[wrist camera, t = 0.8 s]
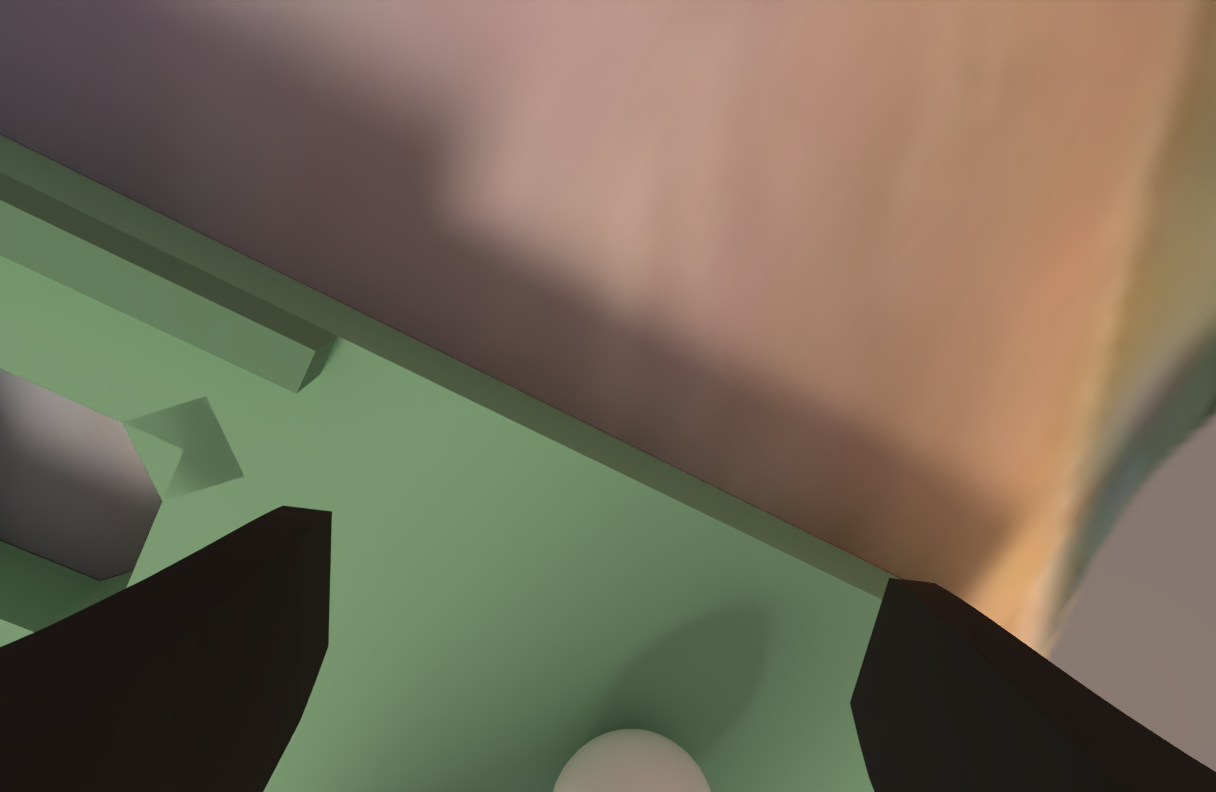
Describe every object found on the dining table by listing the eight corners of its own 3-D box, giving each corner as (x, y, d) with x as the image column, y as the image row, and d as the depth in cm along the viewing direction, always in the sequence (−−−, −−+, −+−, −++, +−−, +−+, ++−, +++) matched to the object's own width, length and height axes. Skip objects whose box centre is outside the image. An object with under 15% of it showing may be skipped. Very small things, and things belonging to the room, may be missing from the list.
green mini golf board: (706, 940, 26) (733, 1096, 21) (-274, 571, 20) (-499, 678, 16) (949, 602, 22) (1039, 705, 18) (-137, 66, 17) (-371, 33, 13)
